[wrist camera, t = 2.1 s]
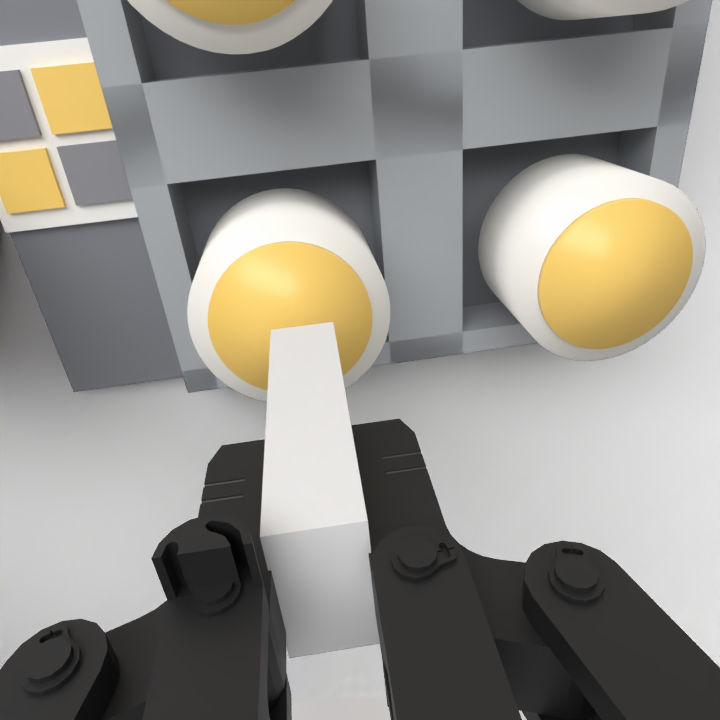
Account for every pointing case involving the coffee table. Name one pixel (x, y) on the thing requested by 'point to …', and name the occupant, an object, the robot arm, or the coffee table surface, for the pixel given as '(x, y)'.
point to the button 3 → (595, 7)
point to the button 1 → (232, 22)
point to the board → (308, 154)
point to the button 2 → (285, 287)
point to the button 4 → (591, 254)
